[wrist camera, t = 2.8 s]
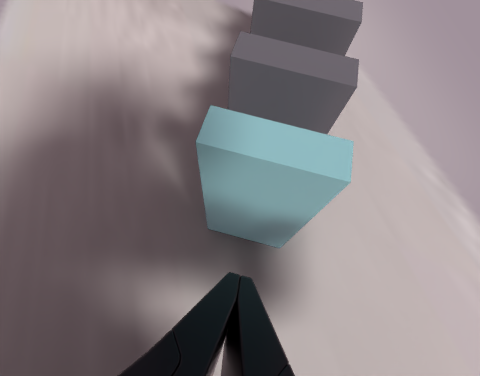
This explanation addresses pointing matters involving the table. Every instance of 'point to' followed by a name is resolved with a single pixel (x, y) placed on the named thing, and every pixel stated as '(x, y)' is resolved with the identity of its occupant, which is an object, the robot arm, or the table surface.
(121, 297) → the table surface
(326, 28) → the domino
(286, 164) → the domino
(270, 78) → the domino
